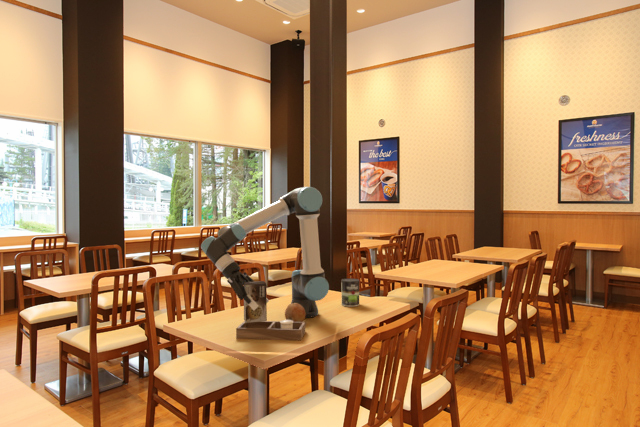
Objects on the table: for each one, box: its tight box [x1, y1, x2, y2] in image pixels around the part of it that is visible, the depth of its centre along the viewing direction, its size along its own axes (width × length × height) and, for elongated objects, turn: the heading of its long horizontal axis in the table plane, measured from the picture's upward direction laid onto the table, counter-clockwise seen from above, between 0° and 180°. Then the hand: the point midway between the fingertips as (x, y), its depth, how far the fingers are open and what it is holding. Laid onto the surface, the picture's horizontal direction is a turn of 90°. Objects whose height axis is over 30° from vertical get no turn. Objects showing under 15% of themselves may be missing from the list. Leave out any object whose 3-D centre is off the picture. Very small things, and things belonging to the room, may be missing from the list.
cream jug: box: [280, 319, 293, 329], centre depth 173 cm, size 6×6×6 cm
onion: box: [284, 303, 306, 322], centre depth 193 cm, size 10×10×10 cm
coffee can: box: [340, 278, 360, 308], centre depth 231 cm, size 10×10×14 cm
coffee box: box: [243, 280, 268, 323], centre depth 174 cm, size 9×6×16 cm
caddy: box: [235, 320, 306, 342], centre depth 173 cm, size 12×27×5 cm, turn 83°
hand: (261, 305), depth 173 cm, fingers closed on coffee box, 10 cm apart
